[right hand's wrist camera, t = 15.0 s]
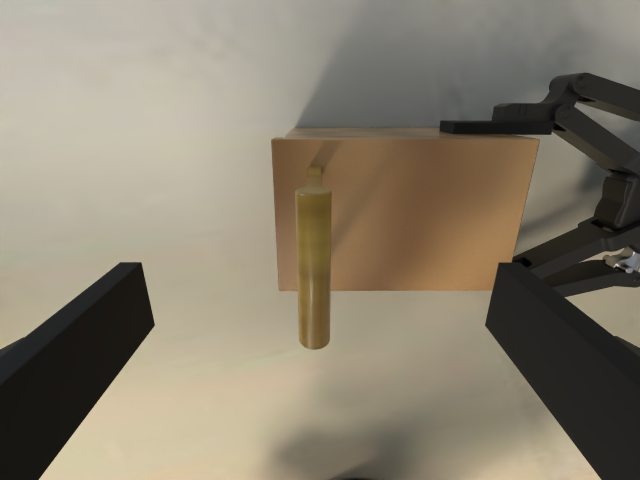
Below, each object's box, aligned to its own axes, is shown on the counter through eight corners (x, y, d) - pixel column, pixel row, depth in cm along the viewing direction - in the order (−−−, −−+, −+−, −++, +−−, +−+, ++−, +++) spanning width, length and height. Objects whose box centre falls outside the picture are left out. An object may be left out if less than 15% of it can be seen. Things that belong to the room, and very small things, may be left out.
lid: (280, 282, 24) (261, 373, 16) (273, 137, 20) (244, 158, 12) (496, 281, 24) (588, 371, 16) (528, 137, 20) (667, 157, 12)
